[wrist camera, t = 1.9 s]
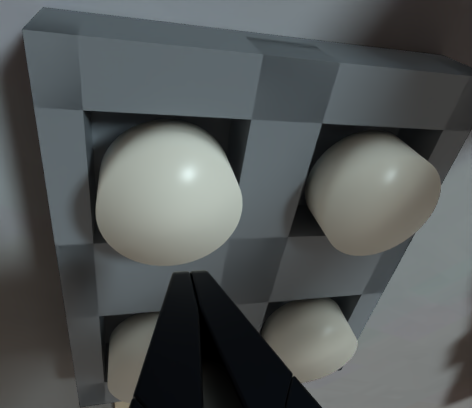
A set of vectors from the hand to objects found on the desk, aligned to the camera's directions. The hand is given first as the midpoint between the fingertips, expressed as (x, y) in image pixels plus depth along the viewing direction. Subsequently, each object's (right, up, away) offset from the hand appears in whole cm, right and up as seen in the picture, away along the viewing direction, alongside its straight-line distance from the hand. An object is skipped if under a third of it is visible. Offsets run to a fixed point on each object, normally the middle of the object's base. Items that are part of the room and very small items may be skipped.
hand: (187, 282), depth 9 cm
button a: (+6, +3, +6) cm, 9 cm away
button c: (+5, -4, +11) cm, 13 cm away
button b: (-1, +3, +4) cm, 5 cm away
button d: (-3, -4, +9) cm, 10 cm away
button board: (+1, +1, +9) cm, 10 cm away
